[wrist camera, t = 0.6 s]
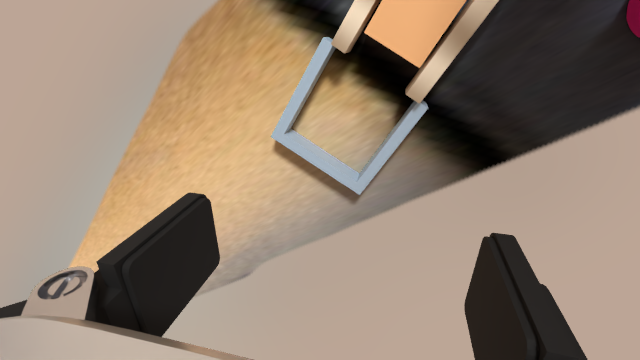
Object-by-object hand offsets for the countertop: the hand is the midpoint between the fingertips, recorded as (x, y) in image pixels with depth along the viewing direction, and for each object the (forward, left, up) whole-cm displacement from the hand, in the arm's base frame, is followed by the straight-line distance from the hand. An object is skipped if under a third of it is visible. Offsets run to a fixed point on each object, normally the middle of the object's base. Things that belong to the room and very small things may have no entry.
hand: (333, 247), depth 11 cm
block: (-8, -2, -27) cm, 28 cm away
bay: (+3, -2, -27) cm, 27 cm away
